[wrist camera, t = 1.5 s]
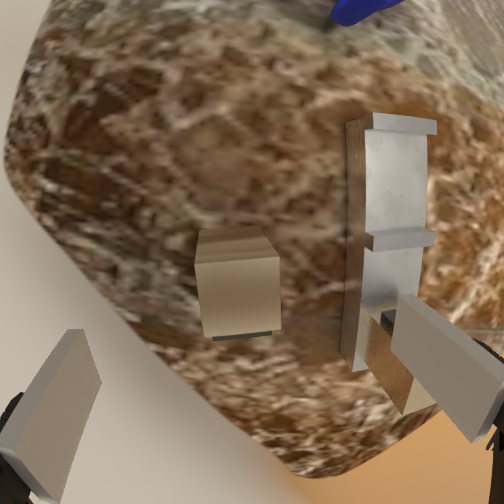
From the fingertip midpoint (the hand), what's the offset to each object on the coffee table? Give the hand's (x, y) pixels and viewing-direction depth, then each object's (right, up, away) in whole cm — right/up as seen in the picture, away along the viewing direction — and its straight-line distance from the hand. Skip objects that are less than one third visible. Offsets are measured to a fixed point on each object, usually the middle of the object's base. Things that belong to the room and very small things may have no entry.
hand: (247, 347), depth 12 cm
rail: (+10, +4, +11) cm, 15 cm away
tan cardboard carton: (-1, +3, +10) cm, 11 cm away
